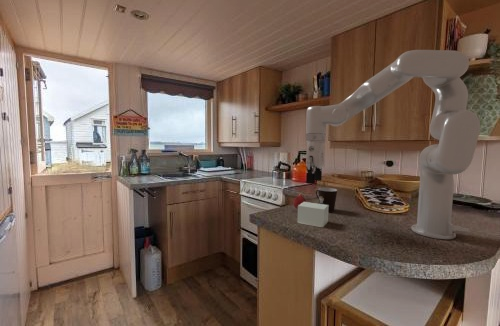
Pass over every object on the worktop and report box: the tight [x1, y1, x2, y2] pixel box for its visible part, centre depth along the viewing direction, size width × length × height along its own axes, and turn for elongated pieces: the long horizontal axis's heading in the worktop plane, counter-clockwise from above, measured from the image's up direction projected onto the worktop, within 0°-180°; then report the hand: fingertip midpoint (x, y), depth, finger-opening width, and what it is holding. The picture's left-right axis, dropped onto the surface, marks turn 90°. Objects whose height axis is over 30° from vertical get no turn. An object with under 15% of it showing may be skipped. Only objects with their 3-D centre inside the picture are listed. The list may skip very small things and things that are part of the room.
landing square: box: [297, 222, 323, 228], centre depth 97 cm, size 9×9×1 cm
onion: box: [292, 193, 307, 210], centre depth 113 cm, size 6×6×8 cm
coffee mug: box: [315, 187, 338, 213], centre depth 116 cm, size 12×9×10 cm
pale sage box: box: [296, 201, 329, 228], centre depth 97 cm, size 10×8×7 cm
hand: (314, 181), depth 96 cm, fingers open, 9 cm apart
